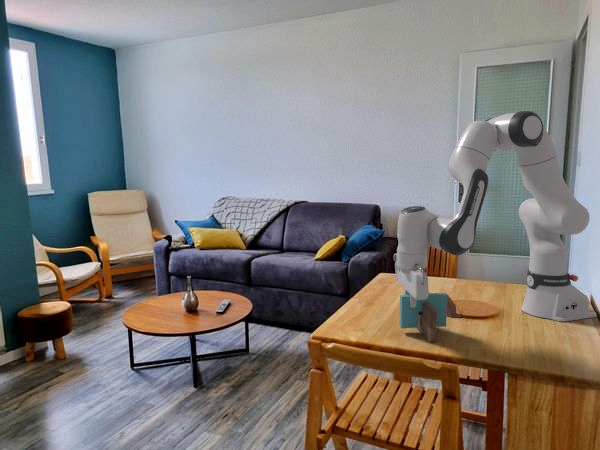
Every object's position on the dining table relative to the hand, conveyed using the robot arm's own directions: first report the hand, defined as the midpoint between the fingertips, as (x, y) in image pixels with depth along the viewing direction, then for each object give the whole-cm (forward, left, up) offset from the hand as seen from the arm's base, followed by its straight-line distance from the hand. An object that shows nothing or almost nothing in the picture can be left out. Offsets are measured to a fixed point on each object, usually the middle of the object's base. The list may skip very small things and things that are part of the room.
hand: (410, 304), depth 131 cm
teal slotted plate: (-4, 0, -7) cm, 8 cm away
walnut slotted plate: (-4, 0, -9) cm, 10 cm away
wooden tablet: (-19, -24, -10) cm, 32 cm away
